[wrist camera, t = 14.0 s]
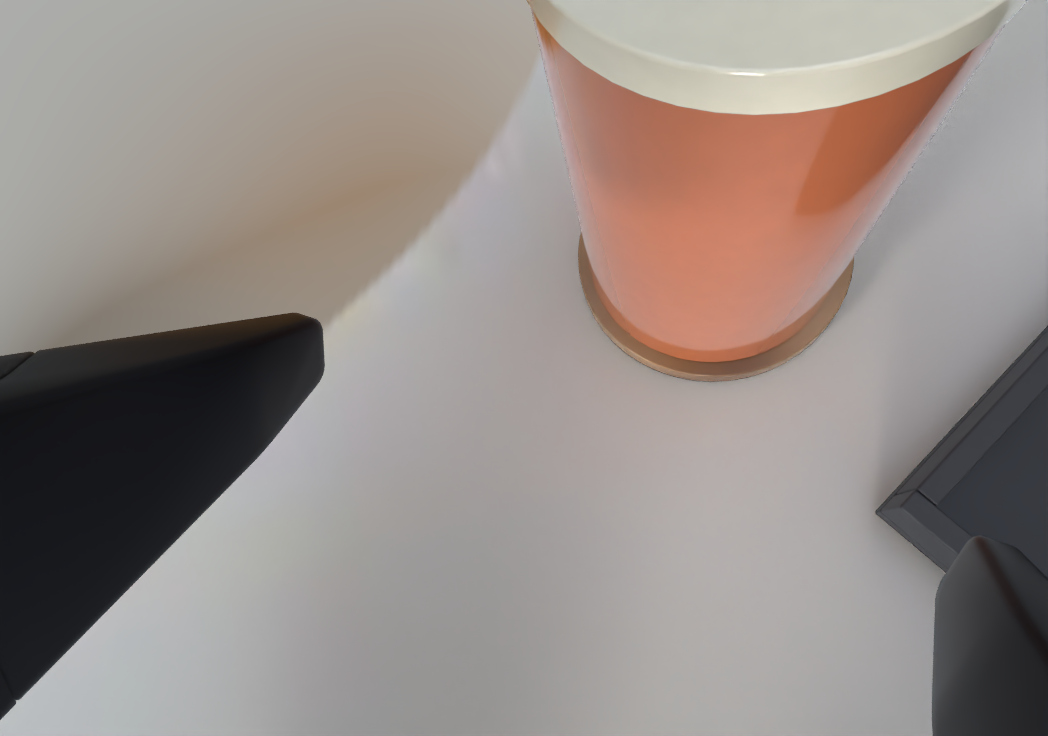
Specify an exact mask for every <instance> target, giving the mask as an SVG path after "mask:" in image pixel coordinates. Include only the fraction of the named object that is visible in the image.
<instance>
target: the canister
mask: <svg viewBox="0 0 1048 736" xmlns="http://www.w3.org/2000/svg"><path fill="white" fill-rule="evenodd" d="M1027 1H1028V0H527V2H528V4H529V5H530V7H531V10H532V15H533V19H534V24H535V28H536V32H537V37H538V41H539V46H540V50H541V55H542V59H543V63H544V68H545V72H546V77H547V81H548V85H549V90H550V94H551V99H552V103H553V108H554V112H555V116H556V121H557V125H558V130H559V134H560V139H561V143H562V147H563V152H564V156H565V161H566V165H567V169H568V174H569V178H570V183H571V187H572V192H573V196H574V200H575V205H576V209H577V214H578V218H579V223H580V227H581V231H582V236H583V240H584V245H585V249H586V254H587V258H588V262H589V267H590V271H591V276H592V280H593V284H594V286H595V289H596V291H597V294H598V296H599V298H600V300H601V302H602V303H603V305H604V307H605V309H606V310H607V311H608V313H609V314H610V315H611V316H612V318H613V319H614V320H615V321H616V322H617V323H618V324H619V325H620V326H621V327H622V328H623V329H624V330H625V331H626V332H627V333H628V334H630V335H631V336H632V337H634V338H635V339H636V340H638V341H639V342H641V343H643V344H645V345H646V346H648V347H650V348H652V349H654V350H657V351H659V352H661V353H664V354H666V355H670V356H673V357H677V358H680V359H685V360H692V361H699V362H722V361H733V360H738V359H742V358H747V357H751V356H754V355H757V354H759V353H762V352H765V351H768V350H770V349H771V348H773V347H775V346H777V345H779V344H781V343H783V342H784V341H786V340H787V339H789V338H790V337H792V336H793V335H795V334H796V333H797V332H798V331H799V330H801V329H802V328H803V327H804V326H805V325H806V324H807V323H808V322H809V321H810V320H811V319H812V317H813V316H814V315H815V314H816V313H817V312H818V310H819V309H820V307H821V306H822V304H823V303H824V301H825V300H826V298H827V297H828V295H829V294H830V292H831V290H832V289H833V287H834V286H835V284H836V283H837V281H838V280H839V278H840V277H841V275H842V274H843V272H844V271H845V269H846V268H847V266H848V265H849V263H850V261H851V260H852V258H853V257H854V255H855V254H856V252H857V251H858V249H859V248H860V246H861V245H862V243H863V242H864V240H865V239H866V237H867V235H868V234H869V232H870V231H871V229H872V228H873V226H874V225H875V223H876V222H877V220H878V219H879V217H880V216H881V214H882V213H883V211H884V209H885V208H886V206H887V205H888V203H889V202H890V200H891V199H892V197H893V196H894V194H895V193H896V191H897V190H898V188H899V187H900V185H901V184H902V182H903V180H904V179H905V177H906V176H907V174H908V173H909V171H910V170H911V168H912V167H913V165H914V164H915V162H916V161H917V159H918V158H919V156H920V154H921V153H922V151H923V150H924V148H925V147H926V145H927V144H928V142H929V141H930V139H931V138H932V136H933V135H934V133H935V132H936V130H937V128H938V127H939V125H940V124H941V122H942V121H943V119H944V118H945V116H946V115H947V113H948V112H949V110H950V109H951V107H952V106H953V104H954V103H955V101H956V99H957V98H958V96H959V95H960V93H961V92H962V90H963V89H964V87H965V86H966V84H967V83H968V81H969V80H970V78H971V77H972V75H973V73H974V72H975V70H976V69H977V67H978V66H979V64H980V63H981V61H982V60H983V58H984V57H985V55H986V54H987V52H988V51H989V49H990V47H991V46H992V44H993V43H994V41H995V40H996V38H997V37H998V35H999V34H1000V32H1001V31H1002V29H1003V28H1004V26H1005V25H1006V23H1007V22H1008V21H1009V20H1010V19H1011V18H1012V17H1013V16H1015V15H1016V14H1017V13H1018V12H1019V11H1020V10H1021V8H1022V7H1023V6H1024V5H1025V4H1026V3H1027Z"/></svg>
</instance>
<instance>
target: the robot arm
mask: <svg viewBox="0 0 1048 736" xmlns="http://www.w3.org/2000/svg"><path fill="white" fill-rule="evenodd" d="M324 367H325V363H324V344H323V329H322V326H321V324H320V322H319V321H318V320H316V319H314V318H311V317H308V316H305V315H302V314H299V313H288V314H281V315H275V316H268V317H261V318H254V319H247V320H241V321H234V322H227V323H220V324H214V325H207V326H200V327H193V328H187V329H180V330H173V331H167V332H160V333H153V334H147V335H140V336H133V337H126V338H120V339H113V340H106V341H99V342H92V343H86V344H79V345H73V346H65V347H59V348H52V349H46V350H39V351H37V352H36V353H33V352H24V353H18V354H11V355H5V356H0V720H1V719H2V718H3V717H4V716H5V715H6V714H7V713H8V711H9V710H10V709H11V708H12V707H13V706H14V705H15V704H16V700H19V699H21V698H22V697H23V696H24V695H25V694H26V693H27V692H28V691H29V690H30V689H31V688H32V687H33V685H34V684H35V683H36V682H37V681H38V680H39V679H40V678H41V677H42V676H43V675H44V674H45V673H46V672H47V671H48V670H49V669H50V668H51V667H52V666H53V665H54V664H55V663H56V662H57V661H58V660H59V659H60V658H61V657H62V656H63V655H64V654H65V653H66V652H67V651H68V650H69V649H70V648H71V647H72V646H73V645H74V644H75V643H76V642H77V641H78V640H79V639H80V638H81V637H82V636H83V635H84V634H85V633H86V632H87V631H88V630H89V629H90V628H91V627H92V626H93V625H94V624H95V623H96V622H97V620H98V619H99V618H100V617H101V616H102V615H103V614H104V613H105V612H106V611H107V610H108V609H109V608H110V607H111V606H112V605H113V604H114V603H115V602H116V601H117V600H118V599H119V598H120V597H121V596H122V595H123V594H124V593H125V592H126V591H127V590H128V589H129V588H130V587H131V586H132V585H133V584H134V583H135V582H136V581H137V580H138V579H139V578H140V577H141V576H142V575H143V574H144V573H145V572H146V571H147V570H148V569H149V568H150V567H151V566H152V565H153V564H154V563H155V562H156V561H157V560H158V559H159V558H160V556H161V555H162V554H163V553H164V552H165V551H166V550H167V549H168V548H169V547H170V546H171V545H172V544H173V543H174V542H175V541H176V540H177V539H178V538H179V537H180V536H181V535H182V534H183V533H184V532H185V531H186V530H187V529H188V528H189V527H190V526H191V525H192V524H193V523H194V522H195V521H196V520H197V519H198V518H199V517H200V516H201V515H202V514H203V513H204V512H205V511H206V510H207V509H208V508H209V507H210V506H211V505H212V504H213V503H214V502H215V501H216V500H217V499H218V498H219V497H220V496H221V495H222V494H223V493H224V491H225V490H226V489H227V488H228V487H229V486H230V485H231V484H232V483H233V482H234V481H235V480H236V479H237V478H238V477H239V476H240V475H241V474H242V473H243V472H244V471H245V470H246V469H247V468H248V467H249V466H250V465H251V464H252V463H253V462H254V461H255V460H256V459H257V458H258V457H259V456H260V454H261V453H262V452H263V451H264V450H265V449H266V448H267V446H268V445H269V444H270V443H271V442H272V441H273V439H274V438H275V437H276V436H277V434H278V433H279V432H280V431H281V429H282V428H283V427H284V426H285V424H286V423H287V422H288V421H289V419H290V418H291V417H292V416H293V414H294V413H295V412H296V411H297V409H298V408H299V407H300V406H301V404H302V403H303V402H304V401H305V399H306V398H307V397H308V396H309V394H310V393H311V392H312V391H313V389H314V388H315V387H316V386H317V384H318V383H319V382H320V380H321V378H322V376H323V373H324ZM932 728H933V736H1048V578H1047V577H1046V576H1045V575H1044V574H1043V573H1042V572H1041V571H1040V570H1039V569H1038V568H1037V567H1036V566H1035V565H1034V564H1033V563H1032V562H1031V561H1030V560H1029V559H1028V558H1027V557H1026V556H1025V555H1024V554H1023V553H1022V552H1021V551H1020V550H1019V549H1018V548H1016V547H1014V546H1012V545H1009V544H1006V543H1003V542H1000V541H997V540H993V539H990V538H987V537H984V536H980V535H979V536H975V537H972V538H971V539H970V540H969V541H968V542H967V543H966V544H965V546H964V547H963V549H962V550H961V552H960V553H959V555H958V556H957V558H956V559H955V561H954V562H953V564H952V565H951V567H950V568H949V570H948V571H947V573H946V574H945V576H944V577H943V579H942V581H941V582H940V584H939V587H938V590H937V593H936V598H935V622H934V652H933V683H932Z"/></svg>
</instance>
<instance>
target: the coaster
mask: <svg viewBox="0 0 1048 736" xmlns="http://www.w3.org/2000/svg"><path fill="white" fill-rule="evenodd" d="M578 262H579V273H580V278H581V284H582V288H583V291H584V294H585V297H586V300H587V303H588V306H589V308H590V310H591V312H592V314H593V316H594V318H595V319H596V321H597V322H598V324H599V325H600V327H601V328H602V329H603V331H604V332H605V333H606V334H607V335H608V337H609V338H610V339H611V340H612V341H613V342H614V343H615V344H616V345H617V346H618V347H620V348H621V349H622V350H623V351H624V352H626V353H627V354H628V355H629V356H631V357H633V358H634V359H636V360H637V361H639V362H640V363H642V364H644V365H646V366H648V367H650V368H653V369H655V370H657V371H659V372H662V373H665V374H669V375H672V376H675V377H679V378H685V379H690V380H698V381H729V380H736V379H741V378H747V377H751V376H754V375H757V374H761V373H764V372H767V371H769V370H771V369H773V368H776V367H778V366H780V365H782V364H784V363H786V362H787V361H789V360H791V359H792V358H794V357H795V356H797V355H799V354H800V353H801V352H802V351H803V350H805V349H806V348H807V347H808V346H809V345H811V344H812V343H813V342H814V341H815V340H816V339H817V338H818V337H819V335H820V334H821V333H822V332H823V331H824V330H825V329H826V327H827V326H828V325H829V323H830V322H831V320H832V319H833V317H834V316H835V314H836V313H837V311H838V310H839V308H840V306H841V304H842V302H843V300H844V298H845V296H846V294H847V290H848V287H849V284H850V281H851V278H852V271H853V264H854V257H853V258H852V260H851V261H850V263H849V265H848V266H847V268H846V269H845V271H844V272H843V274H842V275H841V277H840V278H839V280H838V281H837V283H836V284H835V286H834V287H833V289H832V290H831V292H830V294H829V295H828V297H827V298H826V300H825V301H824V303H823V304H822V306H821V307H820V309H819V310H818V312H817V313H816V314H815V315H814V316H813V317H812V319H811V320H810V321H809V322H808V323H807V324H806V325H805V326H804V327H803V328H802V329H801V330H799V331H798V332H797V333H796V334H795V335H793V336H792V337H790V338H789V339H787V340H786V341H784V342H783V343H781V344H779V345H777V346H775V347H773V348H771V349H770V350H768V351H765V352H762V353H759V354H757V355H754V356H751V357H747V358H742V359H738V360H733V361H722V362H699V361H692V360H685V359H680V358H677V357H673V356H670V355H666V354H664V353H661V352H659V351H657V350H654V349H652V348H650V347H648V346H646V345H645V344H643V343H641V342H639V341H638V340H636V339H635V338H634V337H632V336H631V335H630V334H628V333H627V332H626V331H625V330H624V329H623V328H622V327H621V326H620V325H619V324H618V323H617V322H616V321H615V320H614V319H613V318H612V316H611V315H610V314H609V313H608V311H607V310H606V309H605V307H604V305H603V303H602V302H601V300H600V298H599V296H598V294H597V291H596V289H595V286H594V284H593V280H592V276H591V271H590V267H589V262H588V258H587V254H586V249H585V245H584V240H583V236H582V231H581V235H580V241H579V250H578Z"/></svg>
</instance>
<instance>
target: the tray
mask: <svg viewBox="0 0 1048 736" xmlns="http://www.w3.org/2000/svg"><path fill="white" fill-rule="evenodd" d="M876 514H877V515H879V516H880V517H881V518H882V519H883V520H885V521H886V522H887V523H888V524H889V525H890V526H892V527H893V528H894V529H895V530H896V531H898V532H899V533H900V534H901V535H902V536H904V537H905V538H906V539H907V540H908V541H909V542H911V543H912V544H913V545H914V546H915V547H917V548H918V549H919V550H920V551H921V552H923V553H924V554H925V555H926V556H927V557H928V558H930V559H931V560H932V561H933V562H934V563H936V564H937V565H938V566H939V567H940V568H942V569H943V570H944V571H945V572H946V573H947V571H948V570H949V568H950V567H951V565H952V564H953V562H954V561H955V559H956V558H957V556H958V555H959V553H960V552H961V550H962V549H963V547H964V546H965V544H966V543H967V542H968V541H969V540H970V539H971V538H972V537H975V536H979V535H980V536H984V537H987V538H990V539H993V540H997V541H1000V542H1003V543H1006V544H1009V545H1012V546H1014V547H1016V548H1018V549H1019V550H1020V551H1021V552H1022V553H1023V554H1024V555H1025V556H1026V557H1027V558H1028V559H1029V560H1030V561H1031V562H1032V563H1033V564H1034V565H1035V566H1036V567H1037V568H1038V569H1039V570H1040V571H1041V572H1042V573H1043V574H1044V575H1045V576H1046V577H1047V578H1048V326H1047V327H1046V328H1045V329H1044V330H1043V332H1042V333H1041V334H1040V335H1039V336H1038V337H1037V338H1036V339H1035V340H1034V341H1033V342H1032V343H1031V344H1030V346H1029V347H1028V348H1027V349H1026V350H1025V351H1024V352H1023V353H1022V354H1021V355H1020V356H1019V357H1018V358H1017V360H1016V361H1015V362H1014V363H1013V364H1012V365H1011V366H1010V367H1009V368H1008V369H1007V370H1006V371H1005V372H1004V374H1003V375H1002V376H1001V377H1000V378H999V379H998V380H997V381H996V382H995V383H994V384H993V385H992V386H991V388H990V389H989V390H988V391H987V392H986V393H985V394H984V395H983V396H982V397H981V398H980V399H979V400H978V402H977V403H976V404H975V405H974V406H973V407H972V408H971V409H970V410H969V411H968V412H967V413H966V414H965V416H964V417H963V418H962V419H961V420H960V421H959V422H958V423H957V424H956V425H955V426H954V427H953V428H952V430H951V431H950V432H949V433H948V434H947V435H946V436H945V437H944V438H943V439H942V440H941V441H940V442H939V444H938V445H937V446H936V447H935V448H934V449H933V450H932V451H931V452H930V453H929V454H928V455H927V456H926V458H925V459H924V460H923V461H922V462H921V463H920V464H919V465H918V466H917V467H916V468H915V469H914V470H913V472H912V473H911V474H910V475H909V476H908V477H907V478H906V479H905V480H904V481H903V482H902V483H901V484H900V486H899V487H898V488H897V489H896V490H895V491H894V492H893V493H892V494H891V495H890V496H889V497H888V498H887V500H886V501H885V502H884V503H883V504H882V505H881V506H880V507H879V508H878V509H877V510H876Z"/></svg>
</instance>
